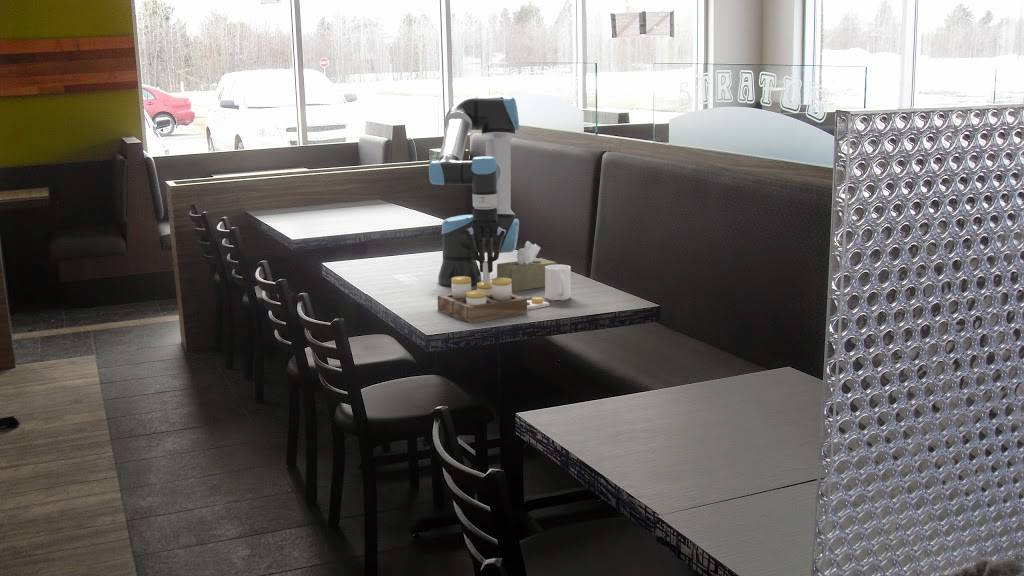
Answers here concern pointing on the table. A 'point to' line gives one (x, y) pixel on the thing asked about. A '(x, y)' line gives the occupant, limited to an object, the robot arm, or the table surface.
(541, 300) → the card
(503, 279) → the button
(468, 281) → the button
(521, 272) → the tissue box
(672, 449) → the table surface
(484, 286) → the button
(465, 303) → the board
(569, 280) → the mug
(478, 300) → the button
